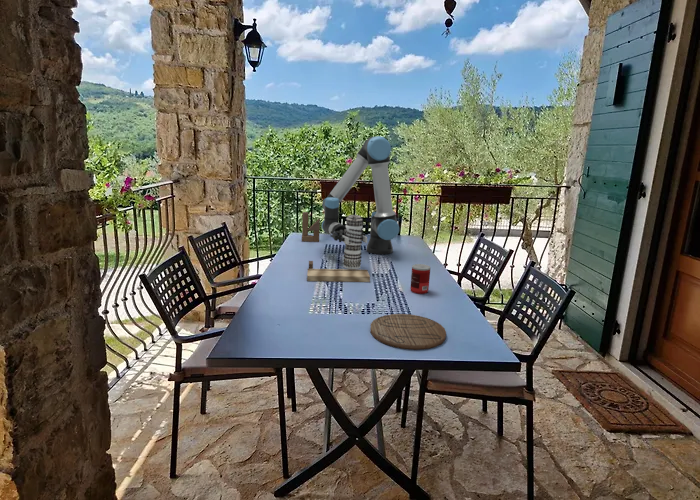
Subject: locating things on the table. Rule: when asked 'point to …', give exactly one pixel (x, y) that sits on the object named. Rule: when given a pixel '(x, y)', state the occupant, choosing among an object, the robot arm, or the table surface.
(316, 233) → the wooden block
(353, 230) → the decorative candle
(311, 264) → the brown flat block
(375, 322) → the trivet
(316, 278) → the oak board
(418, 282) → the canned food
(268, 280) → the table surface
